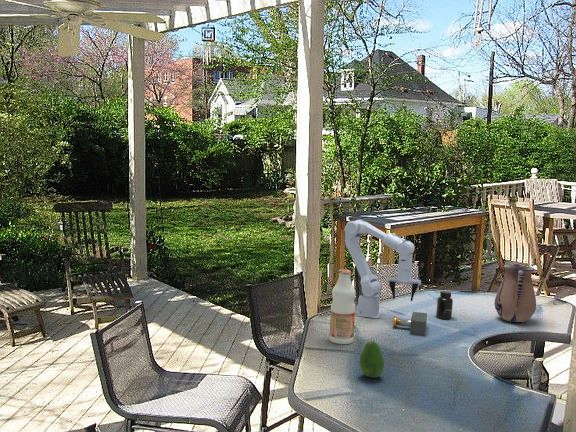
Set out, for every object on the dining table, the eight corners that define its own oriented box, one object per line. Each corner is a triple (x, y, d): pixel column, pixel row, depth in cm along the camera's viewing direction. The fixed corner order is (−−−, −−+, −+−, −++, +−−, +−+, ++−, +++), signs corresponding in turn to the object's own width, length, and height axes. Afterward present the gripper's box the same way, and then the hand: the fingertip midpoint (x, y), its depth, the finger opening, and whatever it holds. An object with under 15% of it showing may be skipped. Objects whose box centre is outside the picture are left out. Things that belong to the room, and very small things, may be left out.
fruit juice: (324, 339, 234) (327, 269, 231) (343, 335, 239) (346, 267, 236) (339, 346, 227) (343, 273, 223) (358, 342, 232) (362, 271, 228)
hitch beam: (409, 334, 245) (410, 320, 244) (412, 324, 258) (413, 311, 257) (424, 336, 243) (425, 322, 242) (426, 326, 256) (427, 313, 256)
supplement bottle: (448, 320, 266) (449, 294, 265) (433, 317, 270) (435, 291, 269) (453, 317, 272) (455, 292, 270) (439, 314, 276) (441, 289, 274)
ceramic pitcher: (527, 316, 279) (532, 263, 276) (542, 329, 258) (547, 273, 255) (489, 313, 281) (493, 261, 278) (500, 327, 260) (505, 270, 257)
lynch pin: (392, 327, 251) (393, 318, 251) (393, 324, 255) (394, 315, 255) (422, 331, 248) (423, 321, 248) (423, 328, 252) (424, 319, 251)
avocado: (367, 370, 203) (369, 336, 201) (387, 377, 198) (389, 342, 196) (354, 377, 197) (356, 342, 195) (374, 383, 192) (376, 347, 190)
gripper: (387, 269, 257) (385, 300, 259) (421, 272, 254) (419, 303, 255) (388, 266, 264) (386, 296, 266) (422, 269, 261) (419, 299, 262)
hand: (402, 299), depth 261 cm, fingers open, 7 cm apart
